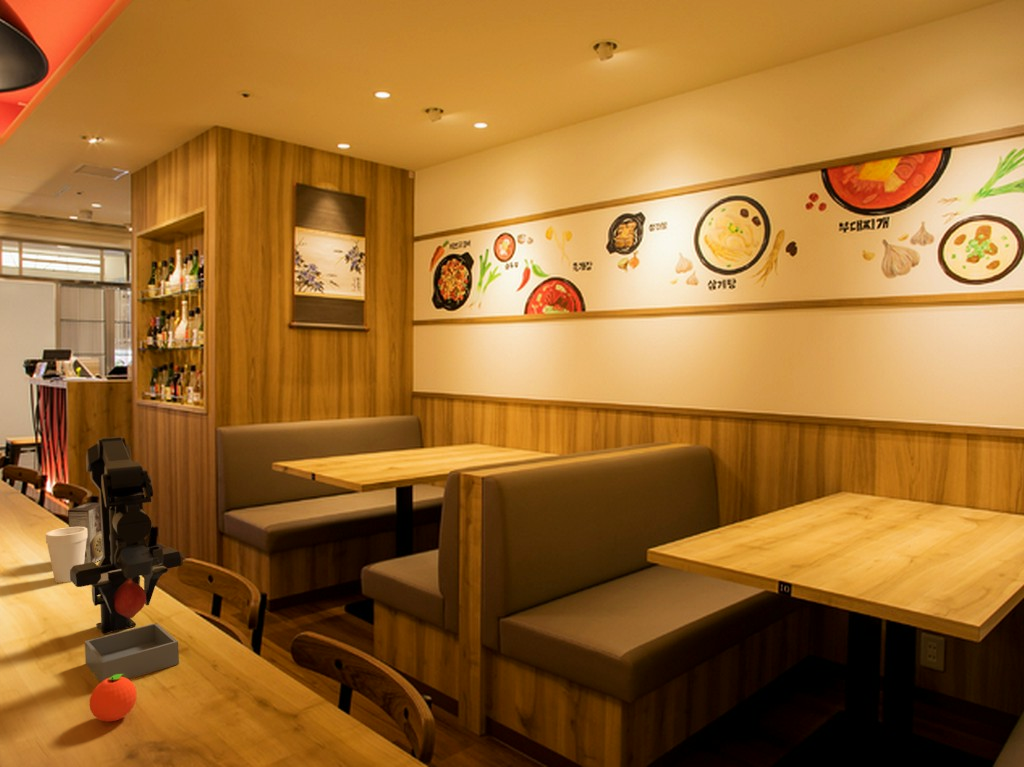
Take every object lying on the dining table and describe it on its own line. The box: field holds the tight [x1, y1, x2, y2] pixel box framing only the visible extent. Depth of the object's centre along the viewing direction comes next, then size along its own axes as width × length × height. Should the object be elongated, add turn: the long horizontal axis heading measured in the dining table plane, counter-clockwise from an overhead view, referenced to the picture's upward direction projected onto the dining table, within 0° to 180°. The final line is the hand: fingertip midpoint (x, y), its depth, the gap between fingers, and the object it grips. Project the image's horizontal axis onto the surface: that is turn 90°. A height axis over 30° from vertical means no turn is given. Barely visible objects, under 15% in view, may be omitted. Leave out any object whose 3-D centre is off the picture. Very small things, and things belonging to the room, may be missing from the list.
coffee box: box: [67, 502, 103, 564], centre depth 208 cm, size 9×6×16 cm
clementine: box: [89, 674, 137, 723], centre depth 120 cm, size 8×7×7 cm
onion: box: [113, 578, 146, 619], centre depth 139 cm, size 6×6×8 cm
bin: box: [84, 622, 180, 684], centre depth 140 cm, size 13×13×4 cm
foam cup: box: [45, 526, 88, 584], centre depth 191 cm, size 10×9×13 cm
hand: (129, 609), depth 140 cm, fingers closed on onion, 6 cm apart
